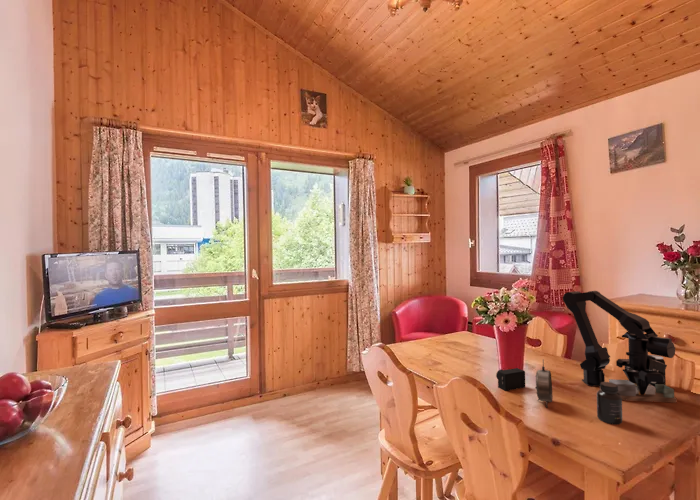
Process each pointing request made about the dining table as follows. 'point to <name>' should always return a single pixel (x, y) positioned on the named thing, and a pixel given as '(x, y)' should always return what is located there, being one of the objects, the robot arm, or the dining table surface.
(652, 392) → the grey rectangular bar
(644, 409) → the dining table surface
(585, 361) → the robot arm
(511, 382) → the digital camera
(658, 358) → the beverage can
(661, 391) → the tube stand
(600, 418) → the supplement bottle
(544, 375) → the alarm clock
